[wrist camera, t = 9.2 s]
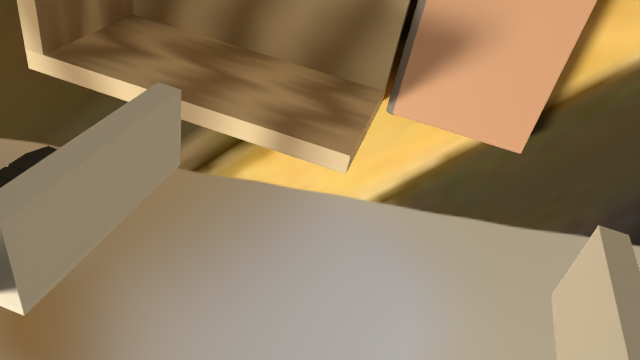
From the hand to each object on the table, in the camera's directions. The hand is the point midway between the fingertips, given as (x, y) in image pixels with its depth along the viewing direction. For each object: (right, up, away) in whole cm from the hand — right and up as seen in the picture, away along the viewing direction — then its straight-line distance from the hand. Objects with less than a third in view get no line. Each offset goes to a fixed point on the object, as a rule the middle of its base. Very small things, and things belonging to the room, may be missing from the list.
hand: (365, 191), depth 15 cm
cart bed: (-5, +14, +18) cm, 24 cm away
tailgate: (+5, +10, +15) cm, 19 cm away
